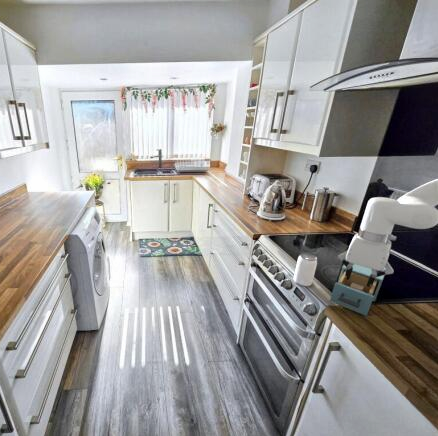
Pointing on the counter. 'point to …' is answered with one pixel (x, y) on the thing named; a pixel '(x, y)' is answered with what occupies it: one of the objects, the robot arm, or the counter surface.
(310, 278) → the can
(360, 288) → the bundle
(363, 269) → the cabinet
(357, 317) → the counter surface
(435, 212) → the robot arm
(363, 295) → the drawer
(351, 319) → the counter surface
